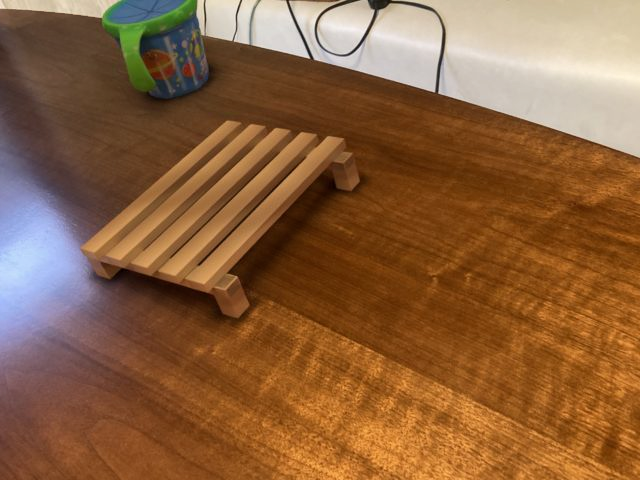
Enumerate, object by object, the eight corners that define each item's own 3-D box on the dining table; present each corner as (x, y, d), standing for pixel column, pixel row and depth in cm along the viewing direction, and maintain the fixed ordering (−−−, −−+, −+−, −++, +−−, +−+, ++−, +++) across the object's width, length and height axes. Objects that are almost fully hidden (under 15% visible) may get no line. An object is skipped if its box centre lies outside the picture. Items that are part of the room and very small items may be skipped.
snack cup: (171, 57, 100) (139, -22, 93) (244, 53, 97) (217, -29, 90) (111, 122, 89) (70, 39, 82) (191, 120, 86) (156, 34, 79)
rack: (94, 285, 67) (70, 245, 64) (233, 157, 79) (218, 118, 76) (234, 329, 60) (215, 287, 57) (365, 181, 71) (354, 139, 68)
